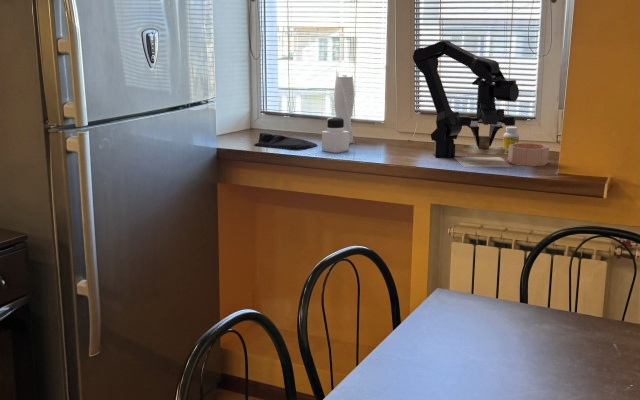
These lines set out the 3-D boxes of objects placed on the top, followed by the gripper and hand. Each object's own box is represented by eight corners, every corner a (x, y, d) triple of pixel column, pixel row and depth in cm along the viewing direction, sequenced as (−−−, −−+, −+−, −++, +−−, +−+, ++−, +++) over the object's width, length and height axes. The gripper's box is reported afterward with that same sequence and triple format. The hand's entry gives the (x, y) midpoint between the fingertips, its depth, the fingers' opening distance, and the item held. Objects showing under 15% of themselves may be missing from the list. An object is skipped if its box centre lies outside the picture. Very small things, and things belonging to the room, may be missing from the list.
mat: (463, 168, 247) (463, 166, 247) (453, 158, 262) (453, 157, 262) (512, 168, 247) (512, 166, 247) (499, 158, 263) (499, 157, 263)
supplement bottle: (509, 152, 275) (511, 125, 273) (520, 154, 271) (522, 127, 269) (499, 153, 273) (500, 126, 270) (510, 155, 268) (512, 128, 266)
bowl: (514, 167, 248) (516, 149, 247) (505, 160, 260) (506, 143, 259) (551, 167, 249) (552, 149, 247) (539, 160, 260) (541, 142, 259)
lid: (467, 154, 247) (468, 140, 246) (458, 147, 260) (458, 133, 259) (510, 154, 247) (511, 139, 246) (498, 147, 261) (499, 133, 260)
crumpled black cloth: (295, 153, 276) (295, 140, 275) (250, 146, 289) (250, 133, 288) (321, 147, 287) (321, 134, 286) (277, 141, 301) (276, 129, 299)
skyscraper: (329, 142, 294) (329, 69, 287) (341, 140, 300) (342, 68, 293) (345, 145, 289) (345, 70, 282) (357, 142, 294) (358, 69, 288)
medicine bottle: (349, 150, 278) (349, 117, 275) (336, 153, 273) (336, 119, 270) (334, 148, 283) (334, 116, 280) (321, 150, 277) (321, 118, 275)
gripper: (463, 102, 242) (460, 150, 245) (521, 102, 242) (518, 150, 246) (455, 98, 252) (453, 144, 256) (511, 98, 253) (508, 144, 257)
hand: (483, 146), depth 253 cm, fingers closed on lid, 4 cm apart
